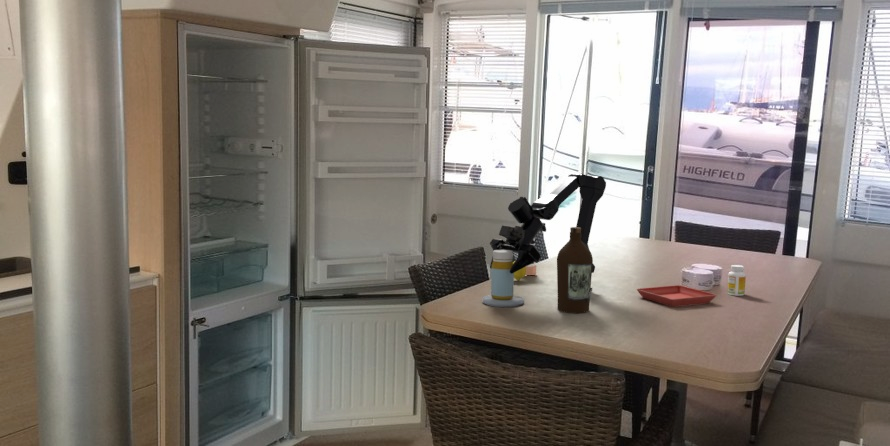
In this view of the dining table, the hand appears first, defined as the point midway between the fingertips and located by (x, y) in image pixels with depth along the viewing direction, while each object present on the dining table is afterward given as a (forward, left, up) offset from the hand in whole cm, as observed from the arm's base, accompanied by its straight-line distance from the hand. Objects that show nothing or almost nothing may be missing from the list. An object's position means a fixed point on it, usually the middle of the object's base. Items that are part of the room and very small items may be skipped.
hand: (500, 270), depth 235 cm
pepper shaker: (+26, -44, -10) cm, 52 cm away
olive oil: (-21, -9, -10) cm, 25 cm away
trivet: (0, -1, -10) cm, 10 cm away
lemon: (+20, -32, -10) cm, 39 cm away
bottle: (+1, -2, -9) cm, 9 cm away
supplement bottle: (-44, -69, -10) cm, 83 cm away
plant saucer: (-35, -45, -11) cm, 58 cm away
